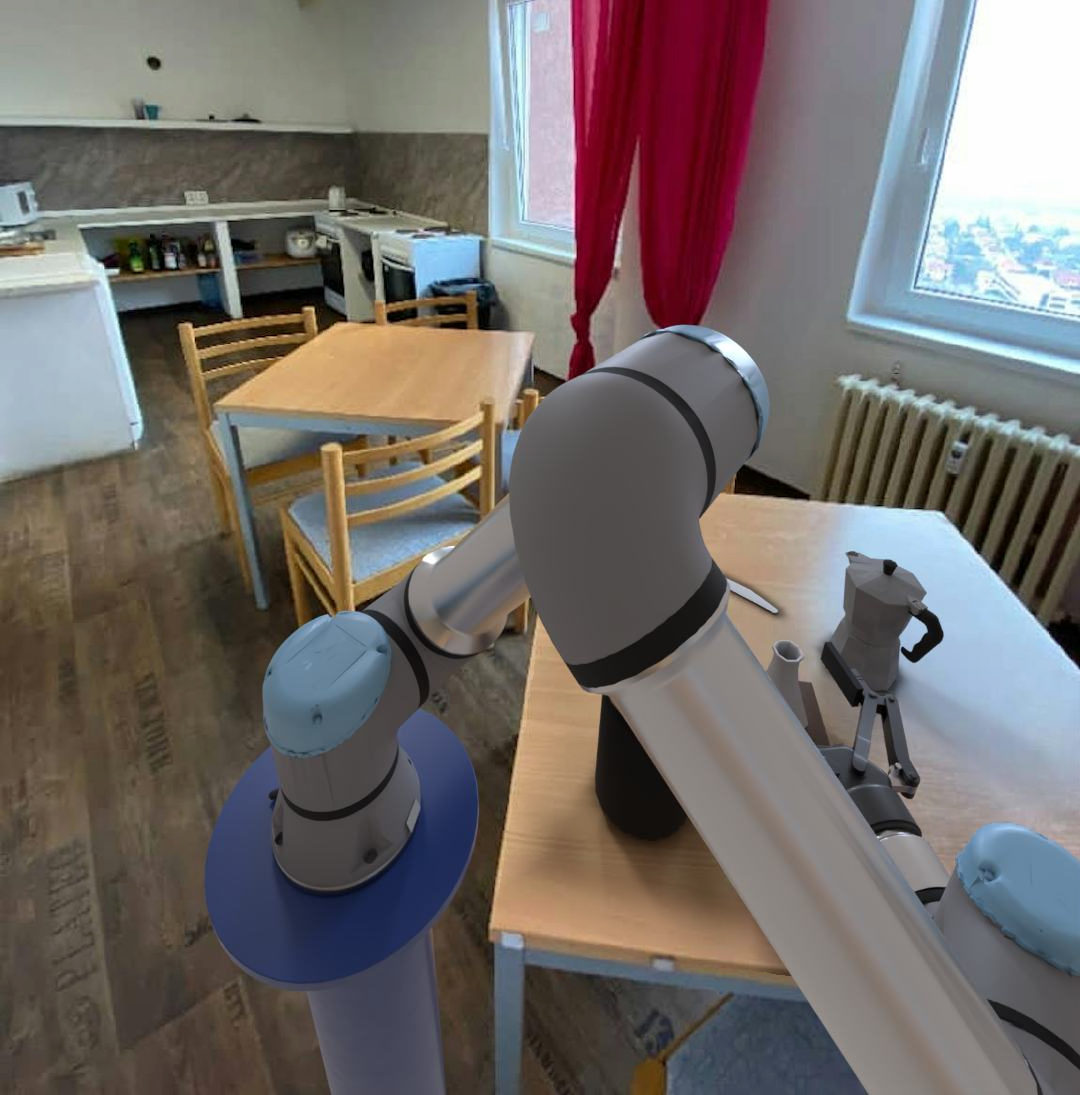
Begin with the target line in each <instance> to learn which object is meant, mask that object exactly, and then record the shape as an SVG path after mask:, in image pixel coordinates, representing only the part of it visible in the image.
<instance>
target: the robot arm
mask: <svg viewBox="0 0 1080 1095" xmlns="http://www.w3.org/2000/svg"><path fill="white" fill-rule="evenodd" d="M768 390H769V389H768V387H767V383H766V380H765V378H764V376H763V374H762V372H761V370H760V369H759V366H758V365H757V364H756V362H755V361H754V359H753V358H752V357H751V356H750V355H749V354H748V352H747V351H746V350H745V349H744V348H743V347H741V345H739V344H738V343H737V342H736V341H734V340H732V339H731V338H730V337H728V336H727V335H725V334H723V333H722V332H719V331H716V330H714V329H711V328H709V327H706V326H700V325H693V324H679V325H678V324H677V325H672V326H669V327H665V328H662V329H656V330H655V331H651V332H647V333H646V334H644V335H642V336H641V337H640V338H639V339H638V340H637V341H636V342H634V343H633V344H631V345H629V346H628V347H626V348H624V349H622V350H621V351H619V352H617V353H616V354H614V355H613V356H611V357H609V358H608V359H606V360H603V361H601V363H598V364H597V365H595V366H594V367H592V368H590V369H588V370H587V371H585V372H584V373H581V374H580V375H578V376H575V377H573V378H571V379H570V380H567V381H566V382H564V383H562V384H560V385H559V386H557V387H556V388H554V389H552V391H550V392H549V393H548V394H547V395H546V396H544V397H543V399H542V400H541V401H540V402H539V403H538V404H537V405H536V407H535V408H534V409H533V410H532V411H531V413H530V414H529V415H528V417H527V419H526V421H525V423H524V425H523V426H522V428H521V431H520V432H519V435H518V438H517V441H516V444H515V447H514V450H513V453H512V458H511V462H510V463H511V464H510V467H509V478H508V479H509V480H508V493H506V494H505V496H504V497H503V498H502V499H501V500H500V501H499V502H498V503H497V504H496V505H494V507H493V508H492V509H491V510H490V511H488V513H487V514H486V515H485V516H484V517H483V518H482V519H481V520H480V521H479V522H477V524H476V525H475V526H474V527H473V528H472V529H470V531H469V532H468V533H467V534H466V535H465V536H464V537H463V538H462V539H461V540H460V541H459V542H458V543H457V544H455V545H448V546H442V547H439V548H437V549H435V550H433V551H431V552H429V553H428V554H426V555H425V556H424V557H423V558H422V559H421V560H420V561H419V562H417V564H416V565H415V566H414V567H413V569H411V571H409V573H407V575H406V576H405V577H404V578H402V579H401V581H399V582H398V583H397V584H396V585H395V586H393V587H392V588H391V589H389V590H388V591H387V592H385V593H384V594H383V595H381V596H380V597H379V598H378V599H376V600H374V601H373V602H372V603H371V604H369V605H368V606H366V608H364V609H363V610H361V611H355V610H341V611H337V613H336V614H335V616H332V617H331V616H330V614H328V613H327V614H324V615H321V616H320V615H319V616H318V617H316V618H313V619H312V620H310V621H309V622H306V623H305V624H303V625H302V626H300V627H299V628H298V629H296V630H294V632H293V633H291V634H290V636H288V637H287V638H286V639H285V640H284V641H283V643H282V644H281V645H280V646H279V647H278V648H277V650H276V651H275V653H274V654H273V656H272V658H271V660H270V662H269V664H268V666H267V668H266V671H265V675H264V680H263V683H262V692H261V693H262V707H263V708H262V718H263V719H262V720H263V721H262V722H263V727H264V730H265V731H264V732H265V734H266V737H267V738H268V741H269V743H270V744H269V745H270V746H271V748H272V753H273V757H274V761H275V765H276V770H277V774H278V779H279V783H280V788H278V789H275V790H273V791H271V792H270V793H269V798H270V799H271V800H273V799H276V798H277V799H276V803H275V807H274V811H273V815H272V824H271V843H272V848H273V852H274V857H275V860H276V863H277V866H278V868H279V870H280V872H281V874H282V875H283V877H284V878H285V879H286V880H287V881H288V882H289V883H290V884H291V885H292V886H293V887H294V888H296V889H298V890H299V891H301V892H304V893H306V894H309V895H312V896H318V897H337V896H342V895H347V894H350V893H353V892H356V891H358V890H361V889H363V888H364V887H366V886H368V885H370V884H372V883H373V882H375V881H376V880H378V879H379V878H380V877H382V876H383V875H384V874H385V873H386V872H387V871H389V870H390V869H391V868H392V867H393V865H394V864H395V863H396V862H397V861H398V860H399V858H400V857H401V856H402V855H403V853H404V852H405V850H406V849H407V847H408V845H409V843H410V842H411V840H412V837H413V835H414V833H415V830H416V828H417V824H418V821H419V816H420V809H421V794H420V783H419V778H418V775H417V772H416V769H415V767H414V764H413V762H412V761H411V759H410V757H409V756H408V755H407V753H406V752H405V751H404V750H403V749H402V748H401V747H400V745H399V742H398V736H397V731H398V729H399V728H400V727H401V726H402V725H403V724H404V723H405V722H406V721H407V720H408V719H409V718H410V717H411V716H412V715H413V714H414V713H415V712H416V711H417V710H418V709H421V707H422V706H423V705H424V704H425V703H426V702H427V701H428V700H429V699H430V697H432V695H434V694H435V693H436V692H437V691H438V690H439V689H440V688H441V687H442V686H443V685H444V684H445V683H446V682H447V681H448V680H449V679H450V678H451V677H452V676H453V675H454V674H455V673H456V672H457V671H459V670H460V669H461V668H462V667H463V666H464V665H466V664H467V663H468V662H469V661H471V660H472V659H473V658H475V657H477V656H478V655H479V654H481V653H482V652H484V651H486V650H487V649H488V648H489V647H491V646H492V645H493V644H494V643H495V642H496V641H497V640H498V638H499V637H500V636H501V634H502V632H503V631H504V628H505V626H506V624H507V620H508V616H509V614H510V613H512V612H513V611H514V610H516V609H517V608H518V607H520V606H521V605H522V604H524V603H525V602H527V601H528V600H529V599H531V601H532V603H533V606H534V608H535V610H536V613H537V616H538V618H539V620H540V622H541V624H542V626H543V628H544V630H545V631H546V634H547V635H548V637H549V639H550V641H551V644H552V645H553V646H554V648H555V650H556V651H557V653H558V654H559V656H560V657H561V659H562V661H563V662H564V664H565V666H566V668H568V670H569V672H570V673H571V675H572V676H573V678H574V680H575V681H576V683H577V684H578V685H579V687H580V688H581V689H582V690H583V691H585V692H587V693H590V694H597V695H601V696H602V695H607V696H610V697H611V699H612V700H613V702H614V703H615V705H616V706H617V708H618V709H619V711H620V712H621V714H622V715H623V717H624V719H625V720H626V722H627V723H628V725H629V726H630V728H631V729H632V731H633V732H634V734H635V735H636V737H637V739H638V740H639V742H640V743H641V745H642V746H643V748H644V749H645V751H646V752H647V754H648V756H649V757H650V759H651V760H652V762H653V763H654V765H655V766H656V768H657V769H658V771H659V772H660V774H661V776H662V777H663V779H664V780H665V782H666V783H667V785H668V786H669V788H670V789H671V791H672V792H673V794H674V796H675V797H676V799H677V800H678V802H679V803H680V805H681V806H682V808H683V809H684V811H685V812H686V814H687V816H688V817H687V818H688V819H689V821H690V822H691V823H692V825H693V826H694V828H695V829H696V831H697V832H698V834H699V836H700V837H701V839H702V840H703V842H704V843H705V845H706V847H707V849H708V850H709V851H710V853H711V854H712V855H713V857H714V859H715V861H716V862H717V863H718V865H719V866H720V868H721V869H722V871H723V873H724V874H725V876H726V877H727V879H728V880H729V882H730V884H731V885H732V887H733V888H734V890H735V892H736V893H737V894H738V896H739V898H740V899H741V900H742V902H743V903H744V905H745V906H746V909H748V911H749V913H750V914H751V916H752V917H753V919H754V921H755V922H756V923H757V925H758V927H759V928H760V930H761V931H762V934H764V936H765V937H766V939H767V940H768V943H770V945H771V947H772V948H773V950H774V951H775V953H776V954H777V955H778V957H779V959H780V960H781V962H782V963H783V965H784V966H785V969H786V970H787V972H788V973H789V974H790V976H791V977H792V979H793V980H794V982H795V984H796V985H797V987H798V988H799V989H800V991H801V992H802V994H803V996H804V997H805V999H806V1000H807V1002H808V1003H809V1005H810V1007H811V1008H812V1009H813V1011H814V1013H815V1015H816V1016H817V1018H818V1019H819V1020H820V1022H821V1024H823V1027H824V1028H825V1030H826V1031H827V1033H828V1034H829V1036H830V1037H831V1039H832V1041H833V1042H834V1044H835V1045H836V1047H837V1048H838V1050H839V1051H840V1053H841V1054H842V1056H843V1057H844V1059H845V1060H846V1062H847V1063H848V1065H849V1067H850V1068H851V1070H852V1071H853V1073H854V1074H855V1076H856V1077H857V1079H858V1081H859V1082H860V1084H861V1085H862V1086H863V1088H864V1090H865V1091H866V1094H868V1095H1080V859H1078V857H1076V856H1075V855H1074V854H1073V853H1071V852H1070V851H1069V850H1067V849H1066V848H1065V847H1064V846H1062V845H1061V844H1060V843H1058V842H1056V841H1054V840H1052V839H1051V838H1048V837H1046V836H1045V835H1043V834H1042V833H1040V832H1036V831H1034V830H1033V829H1031V828H1029V827H1026V826H1024V825H1022V824H1021V825H1020V824H1017V823H1012V822H1003V821H1002V822H1001V821H1000V822H999V821H998V822H992V823H987V824H985V825H983V826H981V827H979V828H978V829H977V830H976V831H975V832H974V833H973V835H972V836H971V838H970V839H969V841H968V842H967V843H966V845H965V847H964V848H963V849H961V850H960V852H958V853H957V854H956V857H955V866H954V868H953V870H952V873H951V875H950V873H949V872H948V870H947V868H946V866H945V865H944V864H943V862H942V860H941V859H940V857H939V855H938V853H936V851H935V849H934V848H933V846H932V844H931V843H930V841H928V840H927V839H926V838H925V837H923V832H922V829H921V828H920V826H919V824H918V823H917V821H916V820H915V818H914V817H913V814H912V813H911V812H910V810H909V808H907V806H906V804H905V802H904V801H903V800H902V798H901V796H902V797H904V798H905V799H907V800H913V799H914V798H915V795H916V792H917V791H918V788H919V785H920V783H921V776H920V774H919V773H918V771H917V769H916V767H915V766H914V764H913V762H912V760H911V759H910V754H909V753H910V752H909V748H908V744H907V737H906V733H905V729H904V724H903V719H902V718H903V717H902V714H901V709H900V704H899V700H898V698H897V696H895V695H894V694H890V693H888V694H885V696H884V695H879V694H878V693H877V692H876V691H871V689H870V688H869V687H868V685H867V684H866V682H865V681H864V680H863V678H862V677H861V675H860V674H859V672H858V671H856V670H855V669H850V668H849V667H848V665H847V664H846V662H845V661H844V659H843V658H842V657H841V655H840V654H839V652H838V651H837V649H836V648H835V646H834V645H833V644H832V642H829V641H824V644H823V648H822V652H821V655H820V660H821V662H822V663H823V665H824V667H825V668H826V670H827V671H828V673H829V674H830V676H831V677H832V679H833V680H834V682H835V684H836V685H837V687H838V688H839V690H840V691H841V693H842V694H843V696H844V698H845V699H846V700H847V702H848V703H849V705H850V706H851V708H858V707H859V706H861V707H860V709H859V716H858V721H857V726H856V730H855V735H854V739H853V745H852V748H851V747H849V746H846V745H844V743H843V742H841V743H839V742H838V743H834V744H830V746H823V745H815V744H814V742H813V741H812V739H811V738H810V736H809V735H808V733H807V732H806V730H805V729H804V728H803V726H802V725H801V723H800V722H799V720H798V719H797V717H796V716H795V714H794V713H793V711H792V710H791V708H790V707H789V705H788V704H787V702H786V701H785V699H784V698H783V696H782V695H781V693H780V692H779V690H778V689H777V687H776V686H775V684H774V683H773V681H772V680H771V679H770V677H769V676H768V674H767V673H766V670H765V668H764V667H763V665H762V664H761V662H760V661H759V659H758V657H756V655H755V654H754V652H753V650H752V649H751V647H750V646H749V644H748V643H747V641H746V640H745V638H744V637H743V636H742V634H741V633H740V631H739V629H738V627H737V626H736V625H735V624H734V622H733V620H732V619H731V617H730V616H729V615H728V613H727V611H728V606H729V601H730V596H731V590H730V584H729V582H728V581H727V579H728V578H727V577H726V576H725V574H724V573H723V572H722V570H721V568H720V567H719V565H718V564H717V563H716V561H715V560H714V558H713V557H712V555H711V553H710V551H709V549H708V548H707V545H706V543H705V541H704V537H703V534H702V529H701V523H700V519H701V518H702V517H703V516H704V514H705V513H706V512H707V510H708V509H709V508H710V507H711V506H712V504H714V502H715V501H716V499H717V498H719V497H718V496H720V494H721V493H722V492H723V490H725V488H726V487H727V486H728V484H729V483H730V482H731V480H732V479H733V478H734V477H735V476H736V475H737V473H738V472H739V471H740V469H741V468H742V467H743V465H744V464H745V463H746V462H747V461H749V460H750V459H751V458H753V457H754V455H755V453H756V452H757V450H759V448H760V444H761V442H762V440H763V436H764V434H765V432H766V430H767V427H768V424H769V420H770V412H771V411H770V410H771V409H770V406H771V405H770V395H769V391H768ZM726 578H727V579H726ZM876 715H880V721H881V722H880V723H881V727H882V734H883V740H884V746H885V751H886V758H887V763H888V768H889V769H888V772H887V773H886V771H885V770H883V769H882V768H880V767H879V766H877V765H876V764H875V763H873V762H872V761H870V760H869V755H870V750H871V744H872V742H871V740H872V736H873V731H874V730H873V729H874V724H875V720H876ZM898 793H900V794H898ZM900 795H901V796H900Z"/></svg>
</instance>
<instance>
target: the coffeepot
mask: <svg viewBox="0 0 1080 1095" xmlns="http://www.w3.org/2000/svg"><path fill="white" fill-rule="evenodd" d="M844 554H845V556H846V557H847V558H848V559H847V560H848V564H849V565H848V566H847V567H846V568H845V574H844V588H843V590H844V591H843V602H842V609H843V611H844V616H843V617H842V618H841V620H840V621H839V623H838V625H837V627H836V628H835V630H834V632H833V634H832V636H831V638H830V639H829V641H828V642H832V644H833V645H834V646H835V648H836V649H837V651H838V652H839V654H840V655H841V657H842V658H843V659H844V661H845V662H846V664H847V665H848V667H849V668H850V669H855V670H856V671H858V672H859V674H860V675H861V677H862V678H863V680H864V681H865V682H866V684H867V685H868V687H869V688H870V689H871V691H874V692H881V691H888V690H889V689H890V687H891V686H892V685H893V683H894V682H895V681H896V680H897V679H898V677H899V667H900V666H899V664H900V663H899V662H900V652H901V654H902V655H903V656H904V658H905V659H906V660H907V661H909V662H910V663H912V664H917V663H918V662H919V661H921V660H922V659H923V658H924V657H925V656H926V655H928V654H929V653H930V652H931V651H932V650H934V648H936V647H937V646H939V644H941V643H942V642H943V640H944V637H945V633H944V629H943V627H942V625H941V621H940V619H939V616H937V615H936V613H934V612H932V611H931V610H929V609H928V608H929V607H928V606H927V605H926V604H925V603H924V602H922V601H923V600H924V598H925V596H926V595H927V593H928V592H927V591H926V589H925V587H923V585H922V584H921V582H920V581H919V579H918V578H917V576H916V575H915V573H913V572H911V571H909V570H907V569H906V568H904V567H901V566H899V565H898V563H897V562H896V561H894V560H893V559H889V558H885V559H884V558H871V557H869V556H867V555H865V554H863V553H861V552H857V551H855V550H850V551H847V552H844ZM912 618H915V619H916V620H918V621H919V622H921V623H922V624H923V625H924V626H925V627H926V631H927V632H925V633H924V634H923V635H922V637H921V638H920V640H919V641H918V642H915V644H913V646H912V650H911V651H910V650H909V649H907V648H905V646H901V639H900V636H901V635H902V634H903V633H904V631H905V629H906V628H907V627H908V625H909V623H910V621H911V620H912Z"/></svg>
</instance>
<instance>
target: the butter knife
mask: <svg viewBox="0 0 1080 1095" xmlns="http://www.w3.org/2000/svg"><path fill="white" fill-rule="evenodd" d="M726 579H727V581H728V582H729V584H730V591H732V592H734V593H736V594H737V595H740V596H741V597H743V598H745V599H747V600H749V601H751V602H753V603H755V604H757V605H759V606H761V607H762V608H763V609H766V610H768V611H770V612H771V613H773V614H778V609H777V608H776V607H775V606H773V605H772V604H770V603H769V602H768V601H767V600H765V599H764V598H763V597H762V596H759V595H758V594H757V593H755V592H754V591H753V590H751V589H749V588H748V587H746V586H743V585H741V584H739V583H737V582H735V581H733V580H731V579H729V578H727V577H726Z"/></svg>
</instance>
